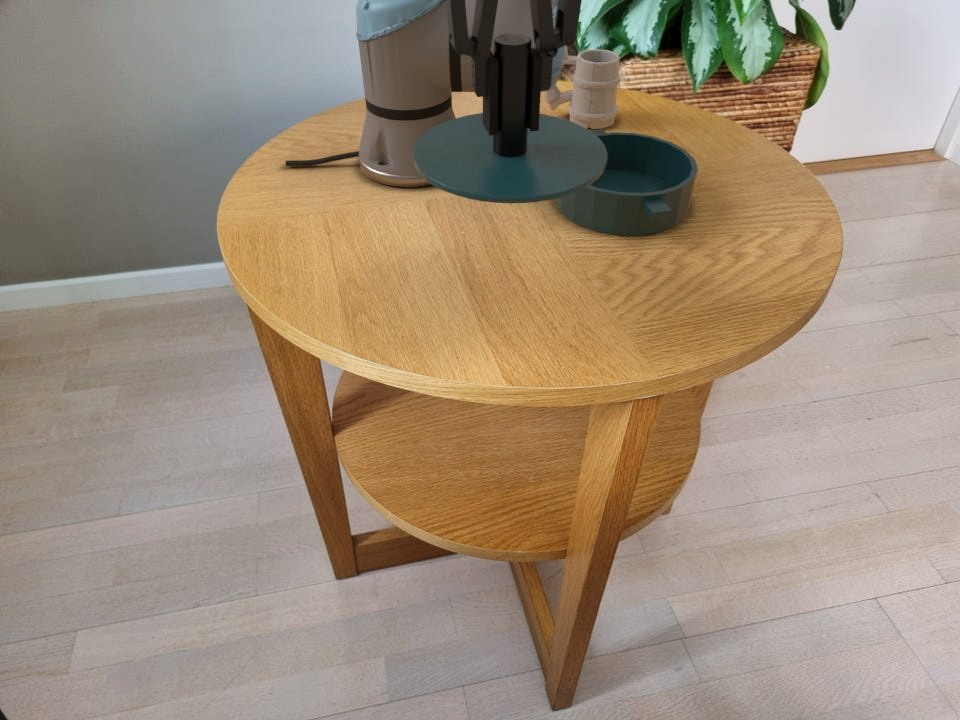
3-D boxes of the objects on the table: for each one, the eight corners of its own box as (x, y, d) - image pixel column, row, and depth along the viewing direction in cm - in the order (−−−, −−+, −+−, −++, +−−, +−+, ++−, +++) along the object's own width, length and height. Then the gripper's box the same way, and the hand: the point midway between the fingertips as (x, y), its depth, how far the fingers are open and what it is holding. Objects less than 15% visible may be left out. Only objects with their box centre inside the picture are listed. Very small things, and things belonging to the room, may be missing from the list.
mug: (614, 132, 107) (624, 51, 99) (538, 125, 110) (542, 45, 101) (618, 112, 113) (628, 34, 105) (546, 106, 115) (550, 29, 107)
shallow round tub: (586, 255, 82) (591, 214, 79) (533, 168, 99) (535, 130, 95) (722, 237, 85) (733, 197, 81) (648, 155, 102) (654, 118, 98)
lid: (431, 221, 59) (424, 87, 51) (401, 131, 72) (391, 15, 65) (636, 196, 62) (656, 67, 54) (570, 115, 75) (580, 2, 68)
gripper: (412, -188, 45) (431, 153, 61) (647, -194, 48) (607, 135, 63) (396, -196, 51) (417, 119, 66) (608, -201, 53) (580, 103, 69)
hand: (510, 126), depth 65 cm, fingers closed on lid, 3 cm apart
